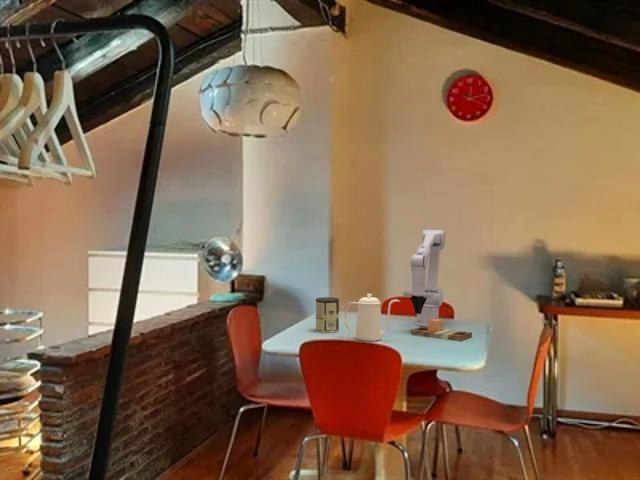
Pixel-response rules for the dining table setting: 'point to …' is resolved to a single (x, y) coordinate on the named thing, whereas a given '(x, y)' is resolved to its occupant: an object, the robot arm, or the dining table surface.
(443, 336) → the board
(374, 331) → the coffeepot
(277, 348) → the dining table surface
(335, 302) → the coffee can
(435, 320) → the block
